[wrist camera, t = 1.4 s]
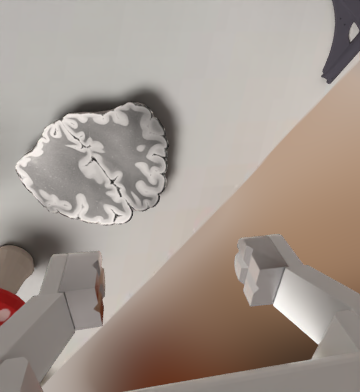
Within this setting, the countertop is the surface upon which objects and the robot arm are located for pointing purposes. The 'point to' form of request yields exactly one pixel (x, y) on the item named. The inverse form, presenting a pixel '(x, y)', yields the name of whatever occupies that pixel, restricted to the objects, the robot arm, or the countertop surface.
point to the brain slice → (99, 164)
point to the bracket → (343, 38)
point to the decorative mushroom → (12, 278)
